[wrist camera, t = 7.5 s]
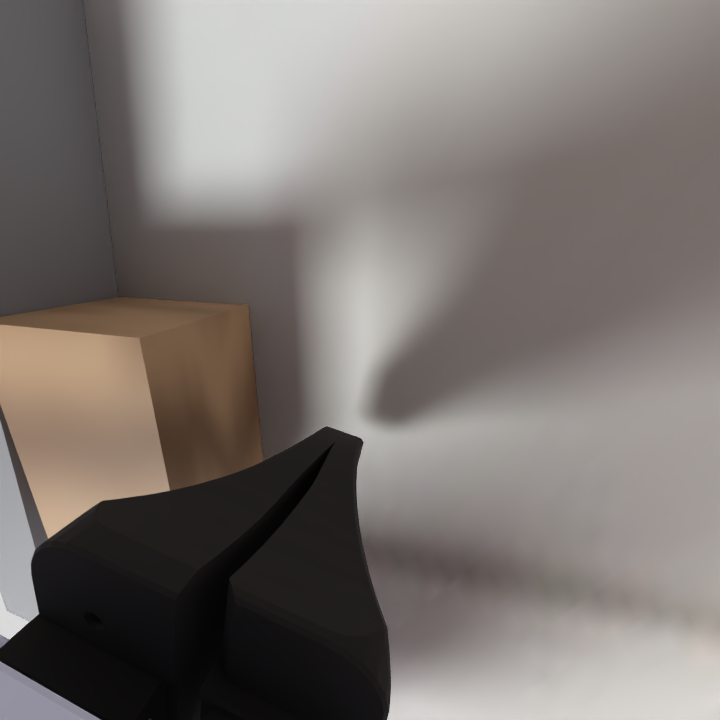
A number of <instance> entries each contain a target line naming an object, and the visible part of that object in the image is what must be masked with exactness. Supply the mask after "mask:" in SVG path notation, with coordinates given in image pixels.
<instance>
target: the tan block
mask: <svg viewBox="0 0 720 720" xmlns="http://www.w3.org/2000/svg"><path fill="white" fill-rule="evenodd" d="M0 405H1V408H2V410H3V413H4V416H5V419H6V422H7V424H8V427H9V430H10V433H11V436H12V439H13V441H14V444H15V447H16V450H17V453H18V455H19V458H20V461H21V464H22V467H23V469H24V472H25V475H26V478H27V481H28V483H29V486H30V489H31V492H32V495H33V498H34V500H35V503H36V506H37V509H38V512H39V514H40V517H41V520H42V523H43V526H44V528H45V531H46V534H47V537H48V539H49V538H50V537H52V536H53V535H54V534H56V533H57V532H58V531H60V530H61V529H63V528H64V527H65V526H67V525H68V524H69V523H71V522H72V521H74V520H75V519H76V518H78V517H79V516H80V515H82V514H83V513H85V512H86V511H87V510H89V509H90V508H92V507H93V506H95V505H96V504H98V503H99V502H101V501H104V500H113V499H121V498H128V497H135V496H143V495H149V494H155V493H160V492H165V491H171V490H176V489H180V488H184V487H189V486H193V485H197V484H200V483H204V482H207V481H211V480H214V479H217V478H221V477H224V476H227V475H230V474H233V473H236V472H239V471H241V470H244V469H247V468H249V467H251V466H254V465H256V464H258V463H261V462H263V453H262V442H261V432H260V421H259V411H258V400H257V390H256V380H255V369H254V359H253V348H252V338H251V327H250V317H249V306H248V305H242V304H226V303H210V302H194V301H177V300H161V299H145V298H129V297H116V298H110V299H104V300H98V301H92V302H86V303H80V304H74V305H68V306H62V307H56V308H50V309H44V310H38V311H32V312H26V313H20V314H14V315H8V316H2V317H0Z"/></svg>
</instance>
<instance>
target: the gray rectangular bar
mask: <svg viewBox="0 0 720 720" xmlns="http://www.w3.org/2000/svg"><path fill="white" fill-rule="evenodd" d="M116 297H118V291H117V283H116V274H115V266H114V257H113V249H112V241H111V232H110V224H109V216H108V207H107V199H106V190H105V182H104V174H103V165H102V157H101V148H100V140H99V132H98V123H97V115H96V107H95V98H94V90H93V81H92V73H91V65H90V56H89V48H88V40H87V31H86V23H85V14H84V6H83V0H0V317H2V316H8V315H14V314H20V313H26V312H32V311H38V310H44V309H50V308H56V307H62V306H68V305H74V304H80V303H86V302H92V301H98V300H104V299H110V298H116ZM46 540H48V537H47V534H46V531H45V528H44V526H43V523H42V520H41V517H40V514H39V512H38V509H37V506H36V503H35V500H34V498H33V495H32V492H31V489H30V486H29V483H28V481H27V478H26V475H25V472H24V469H23V467H22V464H21V461H20V458H19V455H18V453H17V450H16V447H15V444H14V441H13V439H12V436H11V433H10V430H9V427H8V424H7V422H6V419H5V416H4V413H3V410H2V408H1V405H0V592H1V595H2V598H3V601H4V604H5V607H6V610H7V611H8V612H10V613H12V614H15V615H17V616H19V617H21V618H23V619H25V620H27V621H29V622H30V621H31V620H33V619H34V618H35V617H36V616H37V615H38V614H39V611H38V606H37V601H36V596H35V591H34V586H33V581H32V576H31V560H32V557H33V554H34V551H35V549H36V548H38V547H39V546H40V545H41V544H42V543H43V542H45V541H46Z"/></svg>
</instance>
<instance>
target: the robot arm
mask: <svg viewBox="0 0 720 720" xmlns="http://www.w3.org/2000/svg"><path fill="white" fill-rule="evenodd" d="M362 446H363V441H362V439H361V438H358V437H356V436H353V435H350V434H347V433H344V432H341V431H339V430H336V429H333V428H330V427H324V428H322V429H321V430H319V431H318V432H316V433H314V434H313V435H311V436H309V437H308V438H306V439H304V440H303V441H301V442H299V443H297V444H296V445H294V446H292V447H290V448H288V449H287V450H285V451H283V452H281V453H279V454H277V455H275V456H273V457H271V458H269V459H267V460H265V461H263V462H261V463H258V464H256V465H254V466H251V467H249V468H247V469H244V470H241V471H239V472H236V473H233V474H230V475H227V476H224V477H221V478H217V479H214V480H211V481H207V482H204V483H200V484H197V485H193V486H189V487H184V488H180V489H176V490H171V491H165V492H160V493H155V494H149V495H143V496H135V497H128V498H121V499H113V500H104V501H101V502H99V503H98V504H96V505H95V506H93V507H92V508H90V509H89V510H87V511H86V512H85V513H83V514H82V515H80V516H79V517H78V518H76V519H75V520H74V521H72V522H71V523H69V524H68V525H67V526H65V527H64V528H63V529H61V530H60V531H58V532H57V533H56V534H54V535H53V536H52V537H50V538H49V539H48V540H46V541H45V542H43V543H42V544H41V545H40V546H39V547H38V548H36V549H35V551H34V554H33V557H32V560H31V576H32V581H33V586H34V591H35V596H36V601H37V606H38V611H39V614H38V615H37V616H36V617H35V618H34V619H33V620H31V621H30V622H29V623H28V624H27V625H26V626H25V627H24V628H22V629H21V630H20V631H19V632H18V633H17V634H16V635H14V636H13V637H12V638H11V639H10V640H9V639H7V638H5V637H3V636H2V635H0V720H387V717H388V713H389V707H390V692H391V670H390V653H389V641H388V629H387V626H386V623H385V620H384V617H383V615H382V612H381V609H380V606H379V603H378V600H377V597H376V595H375V591H374V588H373V584H372V581H371V578H370V574H369V570H368V566H367V562H366V558H365V553H364V549H363V545H362V539H361V533H360V527H359V519H358V510H357V494H356V478H357V465H358V461H359V457H360V454H361V450H362Z"/></svg>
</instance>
